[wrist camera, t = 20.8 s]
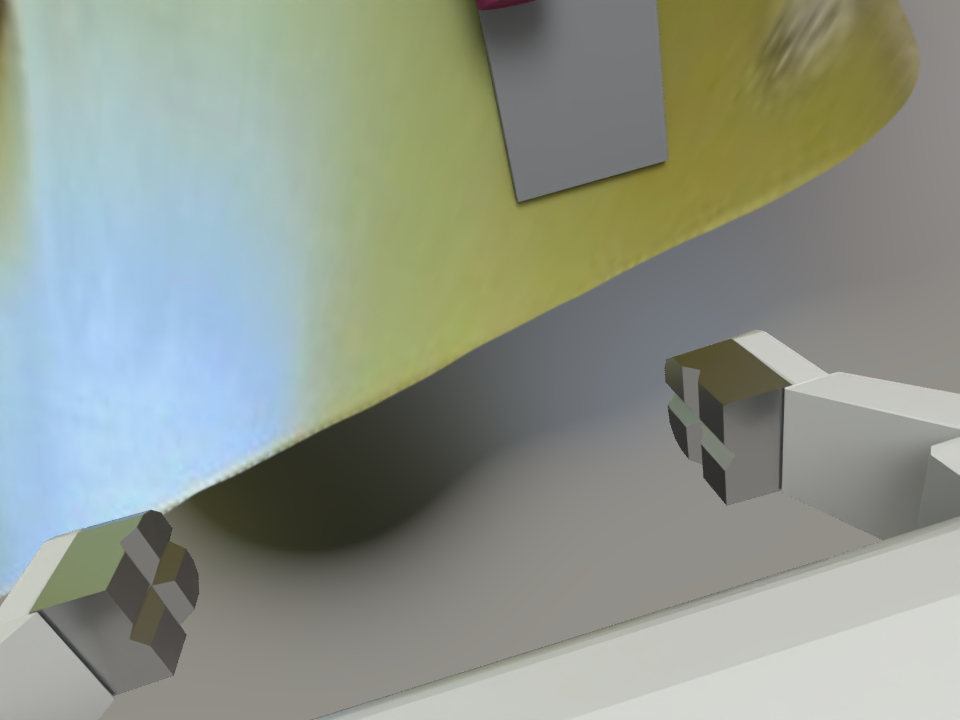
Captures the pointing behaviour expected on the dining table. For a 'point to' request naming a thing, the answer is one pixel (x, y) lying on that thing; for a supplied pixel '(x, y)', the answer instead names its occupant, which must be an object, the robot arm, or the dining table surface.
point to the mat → (576, 90)
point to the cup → (498, 3)
